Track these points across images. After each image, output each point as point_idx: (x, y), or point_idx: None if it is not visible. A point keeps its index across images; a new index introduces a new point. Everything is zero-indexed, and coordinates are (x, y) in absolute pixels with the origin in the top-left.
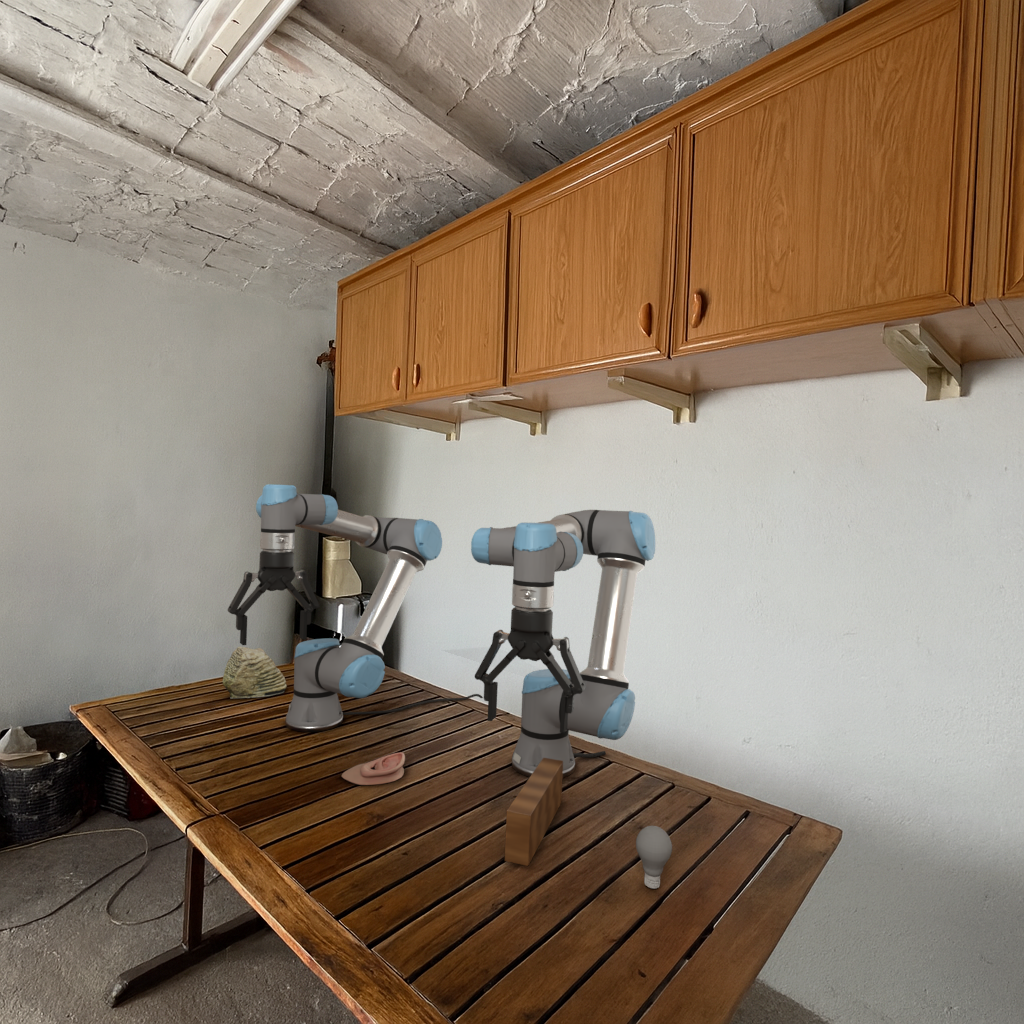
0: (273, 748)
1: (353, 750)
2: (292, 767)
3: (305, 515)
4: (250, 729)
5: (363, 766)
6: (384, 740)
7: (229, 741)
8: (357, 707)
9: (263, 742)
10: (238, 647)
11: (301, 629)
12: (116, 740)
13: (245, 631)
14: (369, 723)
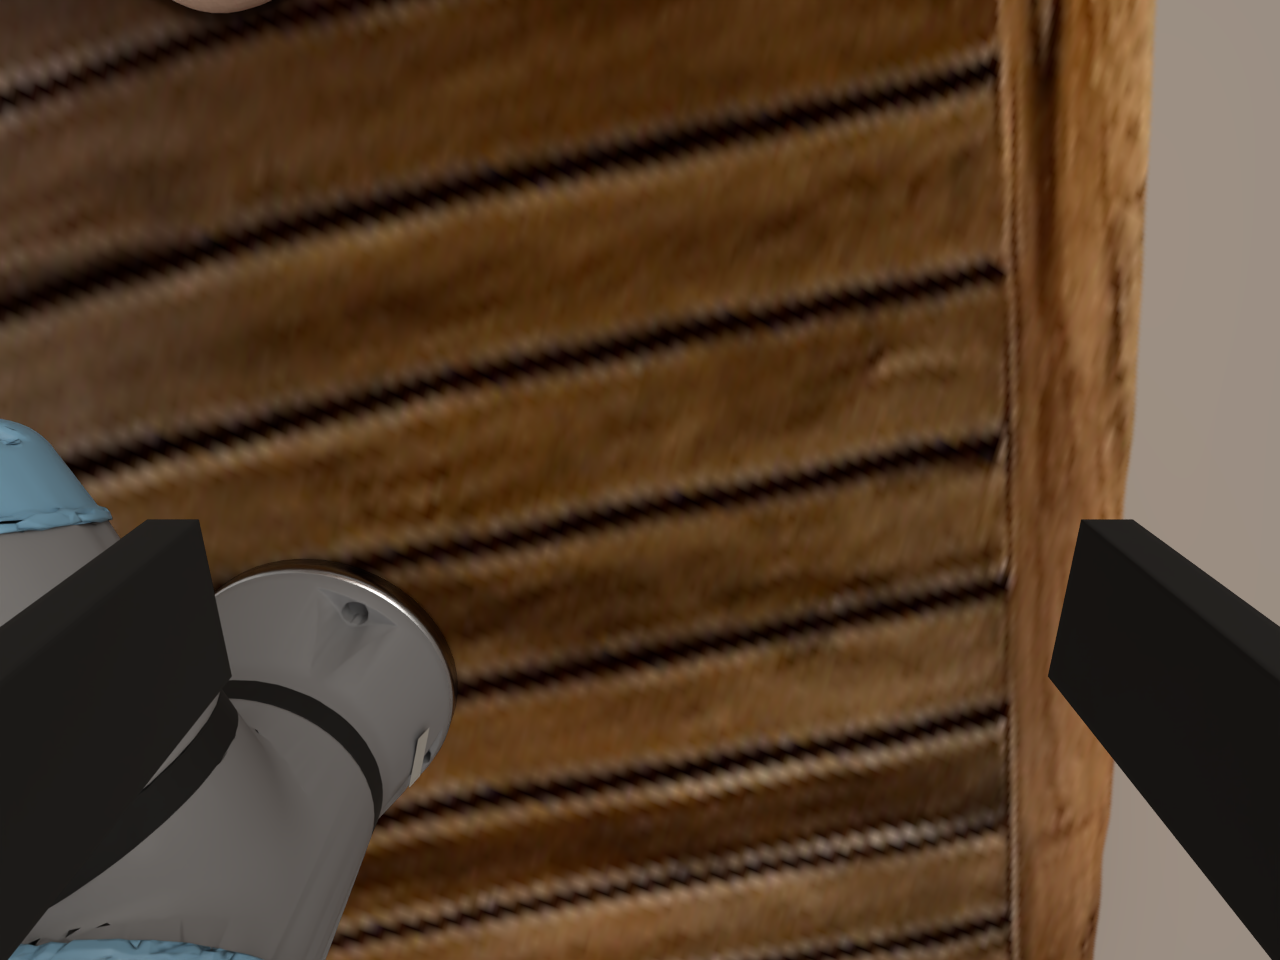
0: (573, 472)
1: (218, 256)
2: (552, 203)
3: None
4: (607, 723)
5: None
6: (31, 302)
7: (722, 636)
8: None
9: (595, 560)
10: None
11: (138, 694)
12: (1087, 831)
13: (1247, 634)
14: None
